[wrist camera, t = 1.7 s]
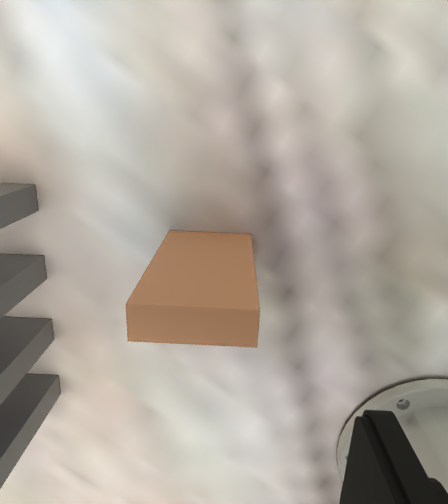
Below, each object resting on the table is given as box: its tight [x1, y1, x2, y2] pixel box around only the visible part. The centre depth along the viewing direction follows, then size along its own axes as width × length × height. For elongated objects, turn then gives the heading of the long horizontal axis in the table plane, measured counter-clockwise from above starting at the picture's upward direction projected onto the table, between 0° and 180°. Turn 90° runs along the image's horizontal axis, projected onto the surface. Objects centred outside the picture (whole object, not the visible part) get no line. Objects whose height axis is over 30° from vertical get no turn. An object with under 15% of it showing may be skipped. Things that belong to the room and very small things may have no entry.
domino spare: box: [126, 230, 260, 347], centre depth 20 cm, size 5×2×10 cm, turn 88°
